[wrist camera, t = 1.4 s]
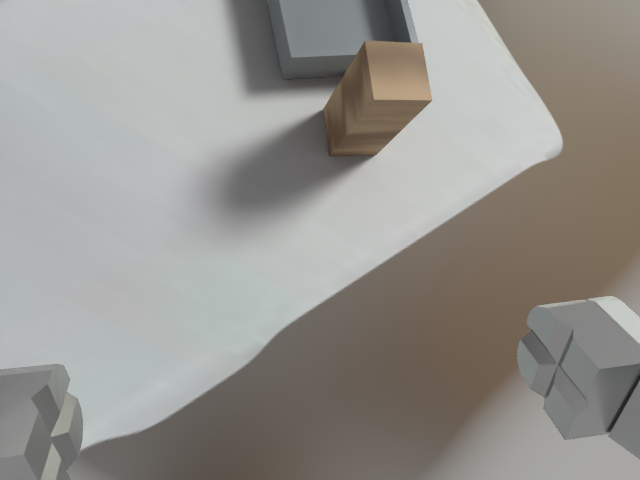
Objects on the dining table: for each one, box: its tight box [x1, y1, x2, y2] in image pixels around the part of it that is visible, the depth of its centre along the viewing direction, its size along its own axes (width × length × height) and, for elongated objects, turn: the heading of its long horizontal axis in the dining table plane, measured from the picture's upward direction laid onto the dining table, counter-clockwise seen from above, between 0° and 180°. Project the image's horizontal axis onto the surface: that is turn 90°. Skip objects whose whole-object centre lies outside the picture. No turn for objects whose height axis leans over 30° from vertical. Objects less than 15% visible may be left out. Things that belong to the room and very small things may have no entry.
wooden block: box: [323, 41, 432, 156], centre depth 44 cm, size 5×5×12 cm
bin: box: [266, 0, 418, 80], centre depth 50 cm, size 14×14×4 cm
